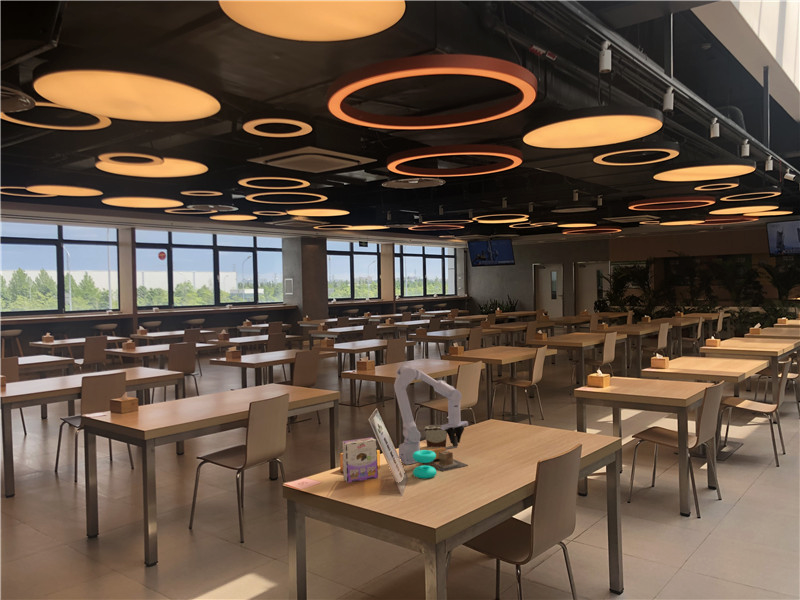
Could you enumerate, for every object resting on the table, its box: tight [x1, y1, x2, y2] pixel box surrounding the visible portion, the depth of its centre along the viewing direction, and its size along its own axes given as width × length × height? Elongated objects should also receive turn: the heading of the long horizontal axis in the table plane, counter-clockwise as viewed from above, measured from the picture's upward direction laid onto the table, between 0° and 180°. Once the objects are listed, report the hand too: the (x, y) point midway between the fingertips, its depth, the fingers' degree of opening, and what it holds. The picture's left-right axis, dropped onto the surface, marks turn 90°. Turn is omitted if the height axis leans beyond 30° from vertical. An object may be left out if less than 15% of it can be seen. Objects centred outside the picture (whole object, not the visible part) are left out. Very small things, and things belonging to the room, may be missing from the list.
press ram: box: [429, 436, 459, 460], centre depth 274 cm, size 18×2×8 cm, turn 121°
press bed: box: [423, 458, 468, 472], centre depth 267 cm, size 14×18×3 cm
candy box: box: [341, 436, 379, 483], centre depth 250 cm, size 14×6×16 cm, turn 111°
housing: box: [439, 450, 454, 465], centre depth 265 cm, size 4×4×5 cm
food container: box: [423, 424, 448, 448], centre depth 298 cm, size 12×6×10 cm, turn 84°
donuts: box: [412, 449, 437, 480], centre depth 251 cm, size 10×10×10 cm
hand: (455, 442), depth 278 cm, fingers closed on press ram, 2 cm apart
